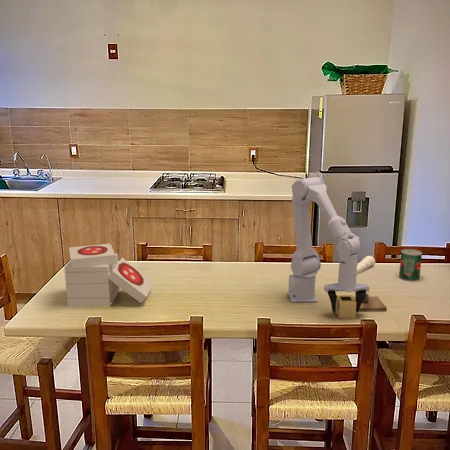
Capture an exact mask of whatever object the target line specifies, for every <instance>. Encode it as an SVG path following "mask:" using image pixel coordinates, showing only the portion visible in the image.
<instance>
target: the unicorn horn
mask: <svg viewBox="0 0 450 450" xmlns="http://www.w3.org/2000/svg"><path fill="white" fill-rule="evenodd" d="M374 265H376V260H375V258H374V256H372V255H367V256H365V257H364V258H363V259H362V260H361V261H359V262H358V263H357V275H358V274H360V273H362V272H364V271H365V270H368V269H370V268H371V267H373V266H374Z"/></svg>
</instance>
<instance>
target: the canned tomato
mask: <svg viewBox="0 0 450 450" xmlns="http://www.w3.org/2000/svg"><path fill="white" fill-rule="evenodd" d="M422 258H423V252H422V251H421V250H417V249H413V248H404V249H401V250H400V262H399V263H400V264H399V272H398V274H399V275H398V277H399V279H400V280H403V281H407V282H417V281H420V279H421V278H420V277H421V266H422Z"/></svg>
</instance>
